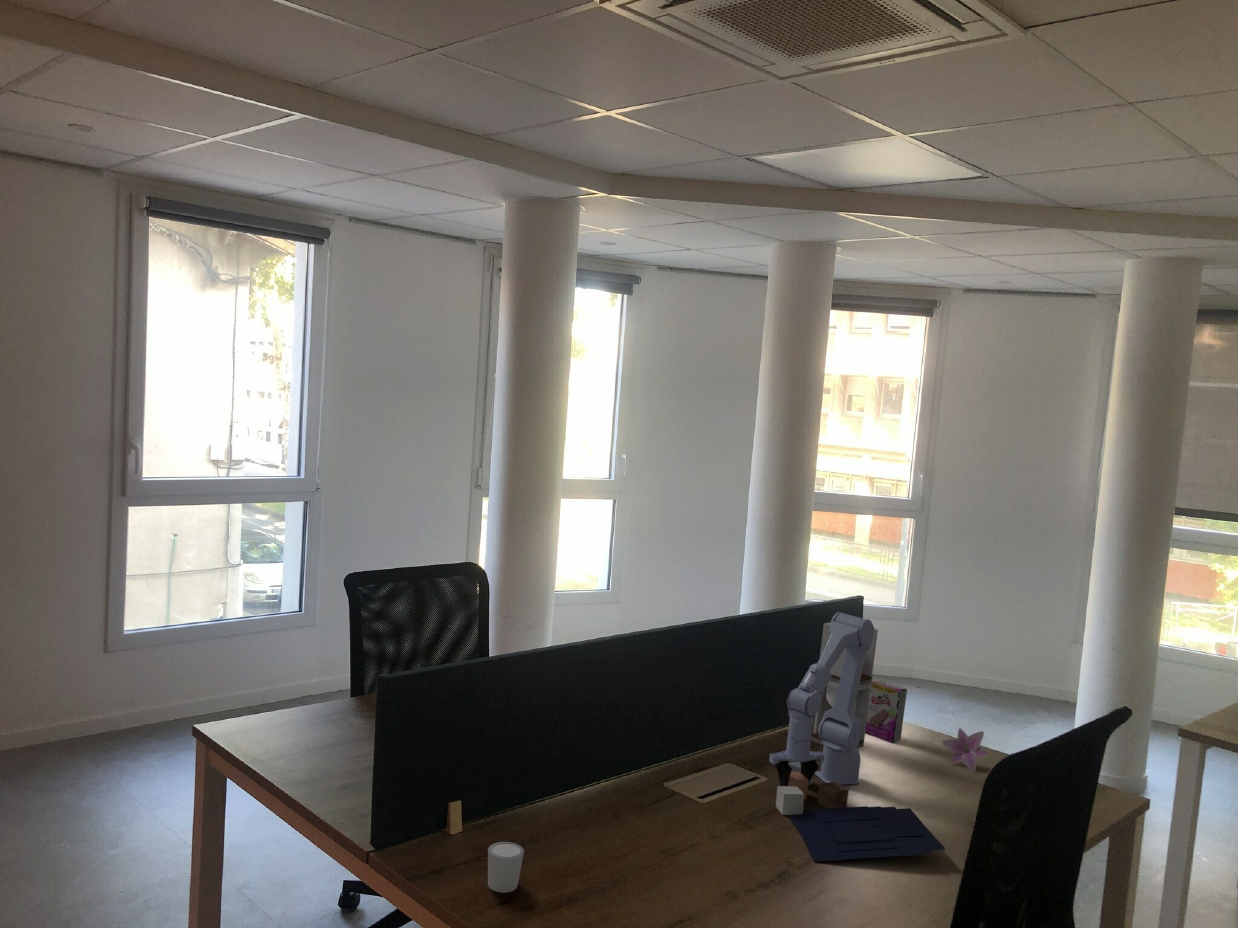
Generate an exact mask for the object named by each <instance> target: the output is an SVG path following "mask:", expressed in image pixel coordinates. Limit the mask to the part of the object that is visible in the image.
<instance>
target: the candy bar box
mask: <svg viewBox="0 0 1238 928" xmlns="http://www.w3.org/2000/svg"><path fill="white" fill-rule="evenodd" d="M907 694H908V688H906V687H903V686H900V685H897V684H893V683H890V682H887V681H884V680H881V679H878V678H872V681H871V689H870V697H869V706H868V714H867V722H866V730H865V735H866V734H867V735H869V736H872V737H874V738H877V739H880V740H883V741H886V742H889V743H891V744H895V743H898V742H900V741H901V738H902V732H903V723H904V716H905V708H906V701H907Z"/></svg>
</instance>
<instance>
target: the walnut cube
mask: <svg viewBox="0 0 1238 928" xmlns="http://www.w3.org/2000/svg"><path fill="white" fill-rule="evenodd" d="M849 791H850V790H849V788H847V787H845V786H843V785H839V784H837V783H836V782H829V783H825V782H824V783H820V784H819V787H818V793H817V795H818V796H817V803H816V804H817V805H820V806H821V807H823V808H824V809H828V808H846V807H848V800H849V799H848V797H849Z"/></svg>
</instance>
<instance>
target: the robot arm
mask: <svg viewBox="0 0 1238 928" xmlns="http://www.w3.org/2000/svg"><path fill="white" fill-rule="evenodd" d="M830 622H831V623H830ZM830 622H829V623H830V628H829V630H830V637H829V640H828V642H827V644H826V646H825V648H824V650H823V652H822V655H821V657H820V656H819V659H818V661H817V662H816V663H813V664H811V665H810V666H809V668H808V670H807V671H806V673H805V675H804V677H803V679H802V680H801V682H800V684H799V685H798V687H795V688H793V689H792V690H790V692H789V694H788V697H787V699H786V707H787V709H788V712H787V714H788V717H789V723H788V732H787V740H786V748H785V750H782V751H780V752H779V751H778V752H774V753H769V759H768V761H769V762H770V763H771V764H772V765H774V766H775V768H776V770H777V774H778V780H779V786H788V781H789V777H790V773H791V771H792V768H791V767H790V766H789V764H788V763H790V762H800V764H801V774H802V775H803V776H805V777H806V778H807V779H808V780H809V782H810V780H811V778H812V776H813V775H815V776H816V777H818V778H819V779H820V780H822V781H823V782H824V783H829V782H836V783H837V784H839V785H841V786H843V785H844V786H845V785H859V784H860V781H859V777H860V767H861V754H860V750H859V748H856V747H857V746H858V744H859V742H860V738H861V733H860V729H861V722H860V720H859V719H858V718H857V716H856V715H855V714H854V707H855V702H856V698H857V693H858V688H859V684H860V679H861V675H862V670H863V665H864V661H865V656H866V652H867V651H869V650H870V649H871V645H872V640H873V636H874V630H875V629H876V628H875V626H874V624H873V622H872V621H871V620H870V619H869V618H867V619H866V618H862V617H859V616H855V615H851V614H847V613H844V612H842V611H838V612H836V613H834V615H833V616H832V618H831V620H830ZM845 648H846V654H845V658H844V663H843V668H842V672H841V677H840V681H839V686H838V691H837V695H836V700H835V704H834V708H832V709H830V710H828V711H826V712H825V713H824V716H823V719H822V721H821V723H820V725H819V729H818V733H819V737H820V739H822V744H824V745H823V750H822V752H821V751H811V743H812V741H811V735H812V733H813V727H814V719H815V714H816V713H817V711H818V710H819V708H820V703H821V699H822V695H821V694H822V693H823V691H824V689H825V687H826V686H827V684H828V682H829V680H830V679H831V673H830V669H831V668H832V667H833V665H834V664H835V662H836V661H837V659H838V658H839V657H840V655H841V654H842V652H843V651H844V649H845ZM835 719H837V720H835ZM838 720H839V721H838ZM841 721H842V722H841ZM843 722H845V723H843ZM846 723H847V724H846ZM817 762H819V763H821V764H820V765H821V766H820V770H819V764H818V763H817ZM818 770H819V771H818ZM809 782H808V786H810V785H809Z"/></svg>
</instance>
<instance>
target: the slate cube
mask: <svg viewBox="0 0 1238 928" xmlns="http://www.w3.org/2000/svg"><path fill="white" fill-rule="evenodd" d="M788 764H789V766H790V767H791V768H792V771H791V772H800V773H801V764H800V762H788ZM814 775H815V774H814ZM814 775H813V776H812V778H811V780H810V782H809V785H808V786H810V785H812V784H813V783H814Z"/></svg>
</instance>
